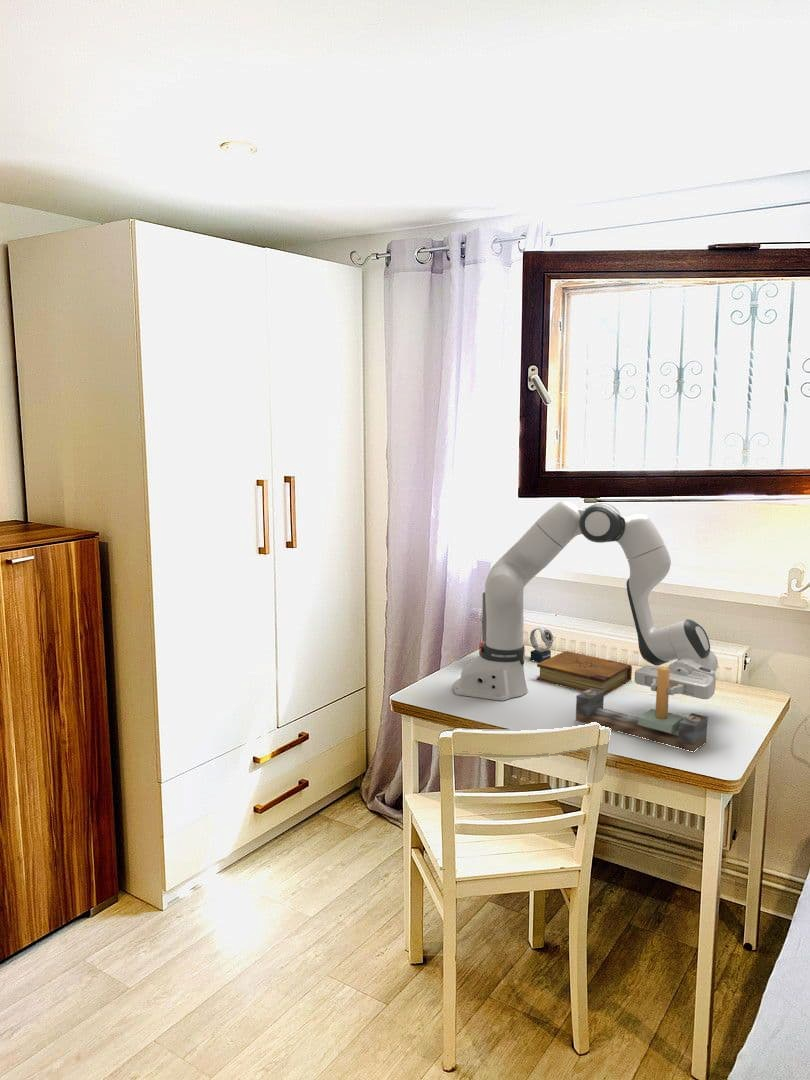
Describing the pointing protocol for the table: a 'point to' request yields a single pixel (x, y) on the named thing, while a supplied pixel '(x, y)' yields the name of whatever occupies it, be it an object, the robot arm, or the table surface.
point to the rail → (684, 737)
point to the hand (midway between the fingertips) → (661, 690)
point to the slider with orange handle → (661, 707)
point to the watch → (541, 653)
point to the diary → (584, 672)
